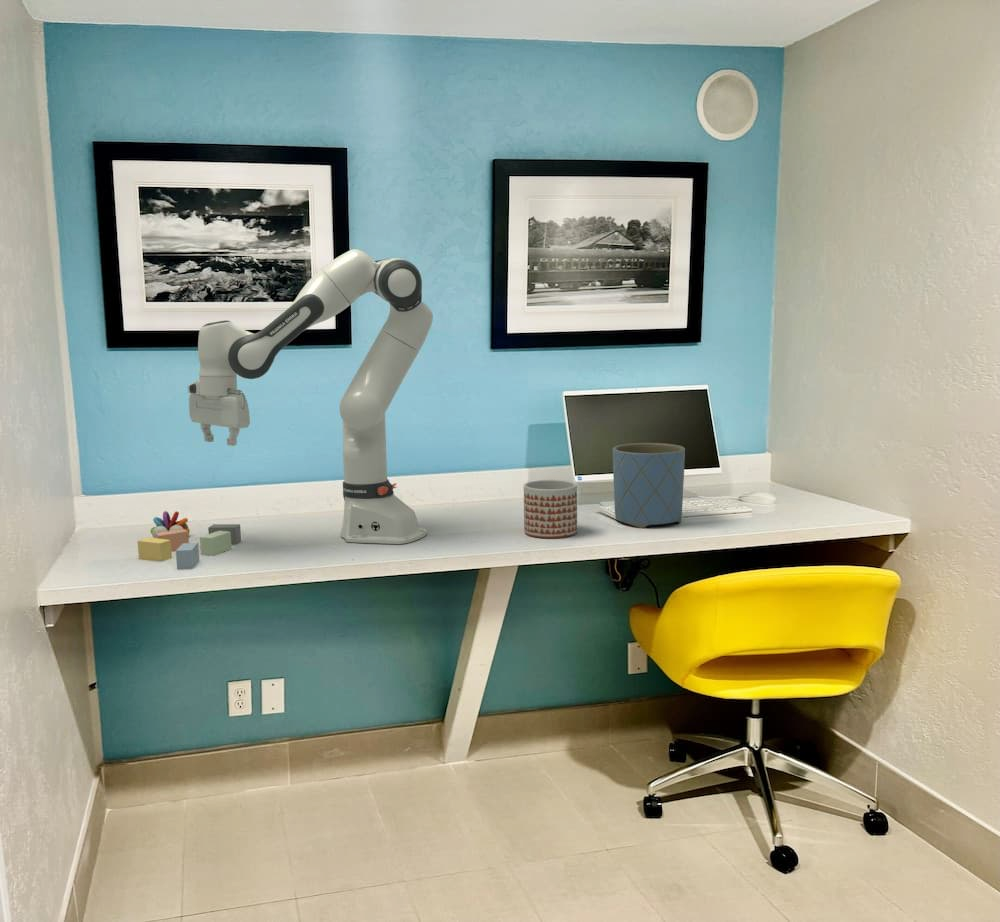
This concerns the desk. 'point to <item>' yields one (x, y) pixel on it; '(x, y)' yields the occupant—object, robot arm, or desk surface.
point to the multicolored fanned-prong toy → (169, 523)
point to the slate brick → (187, 556)
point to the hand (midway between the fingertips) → (220, 443)
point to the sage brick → (215, 543)
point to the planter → (648, 483)
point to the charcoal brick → (230, 528)
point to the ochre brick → (154, 549)
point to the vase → (550, 508)
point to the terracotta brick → (174, 537)
